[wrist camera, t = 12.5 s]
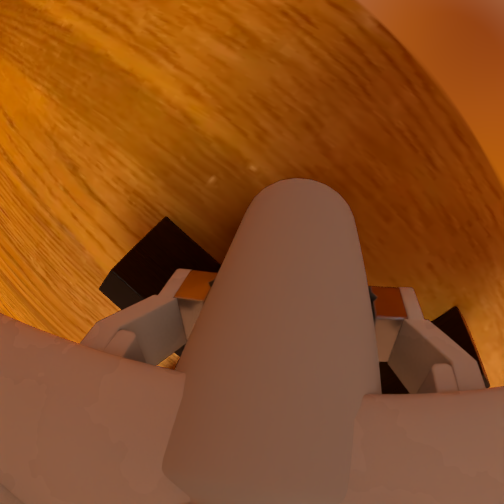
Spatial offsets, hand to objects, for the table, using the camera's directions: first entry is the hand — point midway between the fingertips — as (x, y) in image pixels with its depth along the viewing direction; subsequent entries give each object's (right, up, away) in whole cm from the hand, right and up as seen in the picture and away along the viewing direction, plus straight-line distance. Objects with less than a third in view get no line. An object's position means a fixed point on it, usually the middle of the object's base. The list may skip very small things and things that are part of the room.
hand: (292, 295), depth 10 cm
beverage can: (+1, +3, +4) cm, 5 cm away
